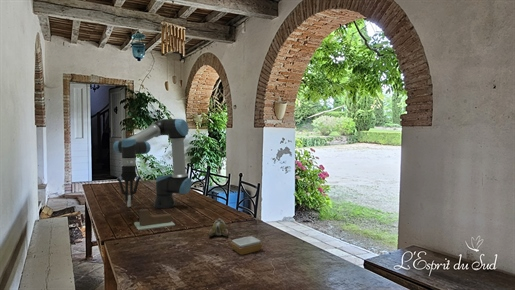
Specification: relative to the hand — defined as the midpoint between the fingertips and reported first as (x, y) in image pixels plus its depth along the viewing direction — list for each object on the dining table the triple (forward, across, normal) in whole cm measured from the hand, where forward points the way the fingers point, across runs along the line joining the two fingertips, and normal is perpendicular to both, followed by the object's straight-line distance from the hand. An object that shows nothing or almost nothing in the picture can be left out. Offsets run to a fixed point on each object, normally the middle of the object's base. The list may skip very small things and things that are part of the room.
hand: (129, 206), depth 187 cm
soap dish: (+13, +44, -62) cm, 78 cm away
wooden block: (+8, +6, 0) cm, 10 cm away
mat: (+13, +14, 0) cm, 19 cm away
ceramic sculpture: (+13, +41, -35) cm, 56 cm away
